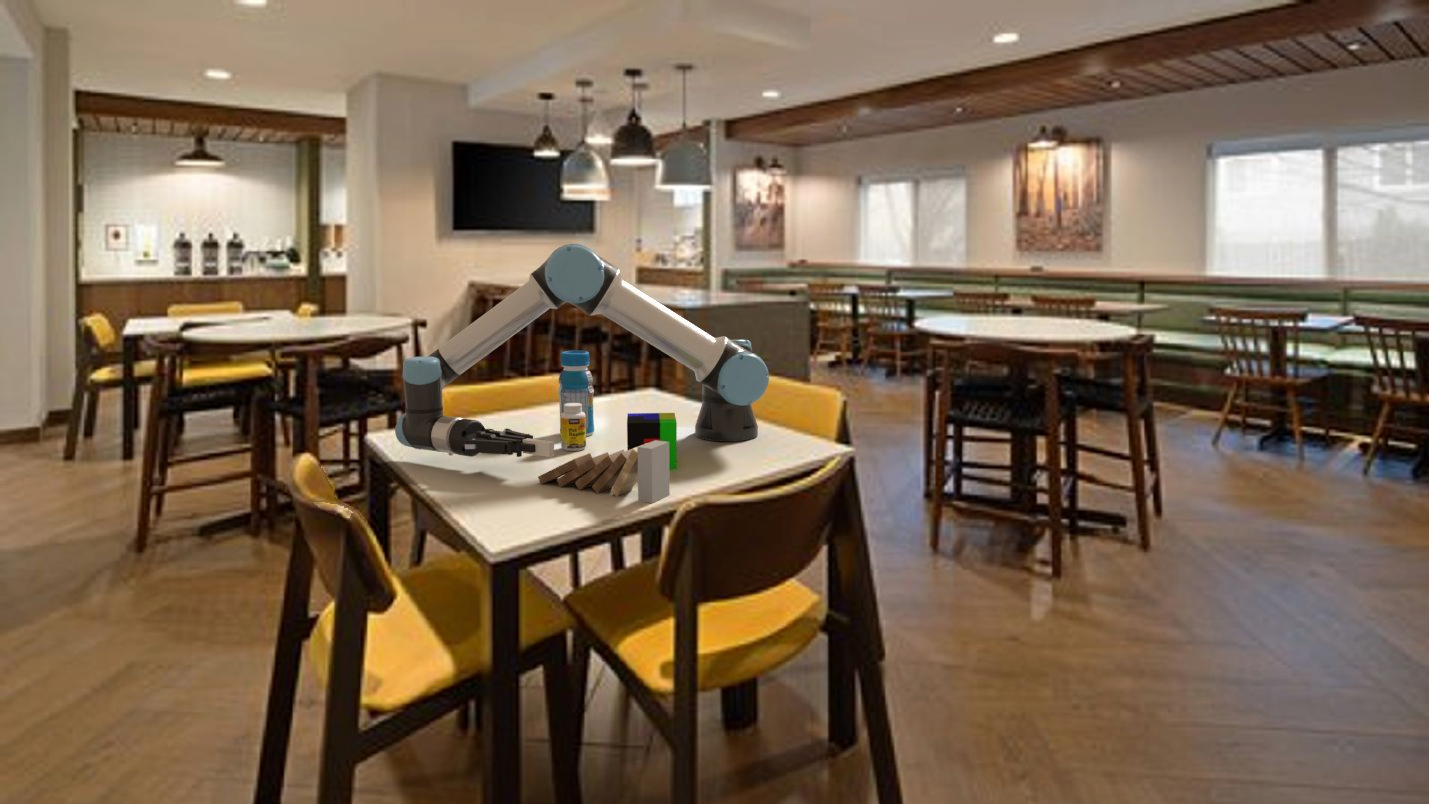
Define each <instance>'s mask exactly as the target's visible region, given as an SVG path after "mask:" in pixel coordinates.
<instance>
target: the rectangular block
mask: <svg viewBox="0 0 1429 804" xmlns="http://www.w3.org/2000/svg"><path fill="white" fill-rule="evenodd" d="M637 452H638V479H637V501H638V502H642V503H648V504H654V503H656V502H658V501H661V500H662V499H664V498H666V497H668V496H670V492H671V491H670V470H669V442H665V441H657V440H655V441H652V442H649V443H647V444H644V445H641V446H639V447H637Z"/></svg>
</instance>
